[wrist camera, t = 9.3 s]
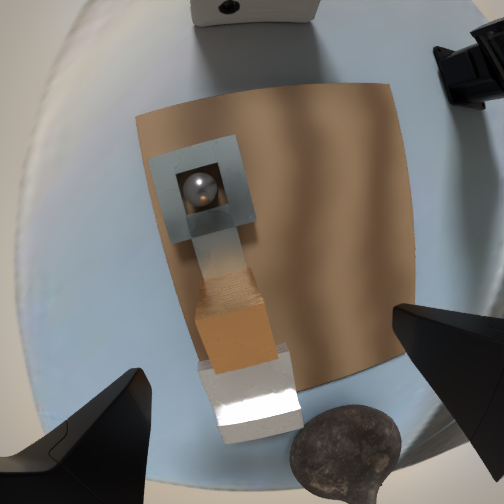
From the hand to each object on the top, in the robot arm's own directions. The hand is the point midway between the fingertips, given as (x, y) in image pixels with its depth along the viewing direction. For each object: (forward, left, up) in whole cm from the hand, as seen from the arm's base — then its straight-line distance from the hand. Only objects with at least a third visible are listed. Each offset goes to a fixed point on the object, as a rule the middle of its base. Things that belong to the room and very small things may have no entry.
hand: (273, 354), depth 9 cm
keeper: (+2, +9, -11) cm, 14 cm away
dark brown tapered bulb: (-4, +20, -12) cm, 23 cm away
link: (+1, 0, -10) cm, 10 cm away
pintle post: (+2, -5, -11) cm, 12 cm away
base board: (-4, +1, -12) cm, 13 cm away
